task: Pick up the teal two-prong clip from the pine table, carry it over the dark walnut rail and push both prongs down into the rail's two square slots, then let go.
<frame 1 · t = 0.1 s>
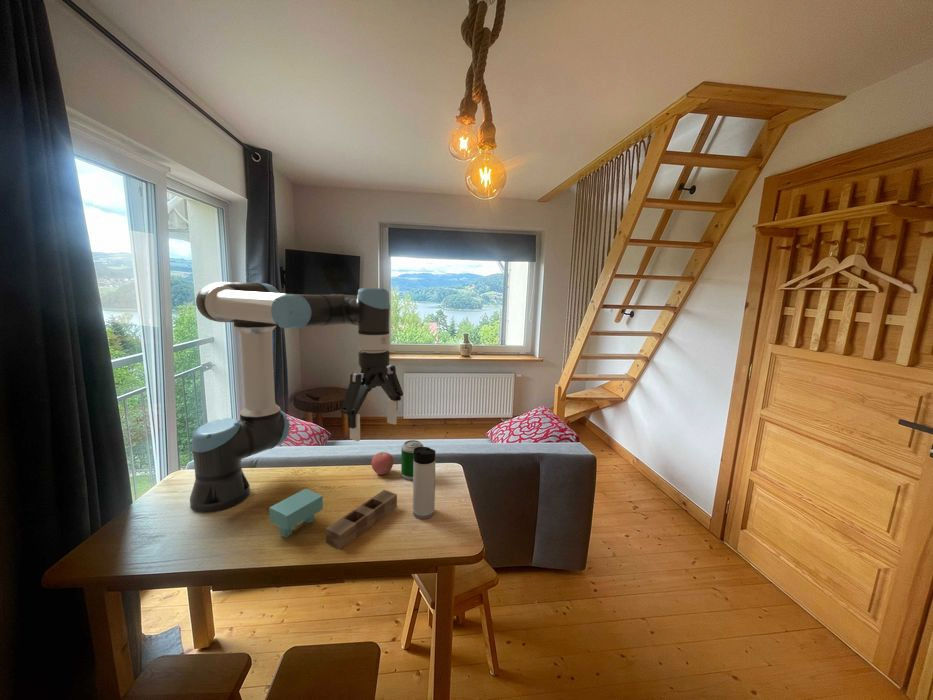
hand: (374, 431, 98), 28 cm above the table, fingers open, 13 cm apart
clip: (297, 526, 102), on the table
soda can: (412, 476, 131), on the table
apple: (382, 473, 132), on the table
travel mug: (423, 513, 110), on the table
rail: (364, 523, 104), on the table
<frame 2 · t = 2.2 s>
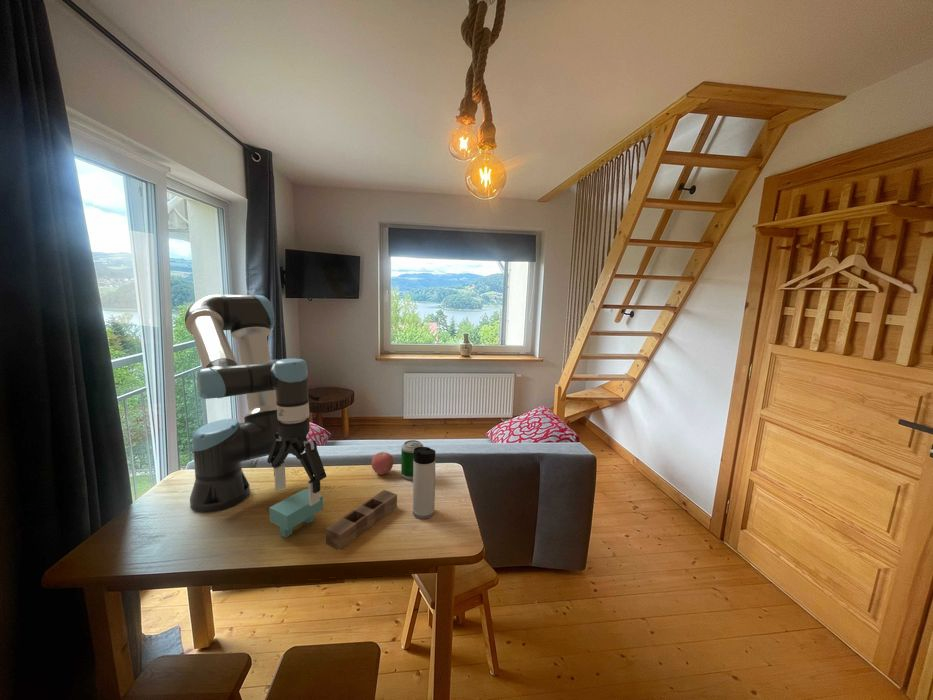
hand: (297, 495, 100), 9 cm above the table, fingers open, 13 cm apart
nothing on the table moved.
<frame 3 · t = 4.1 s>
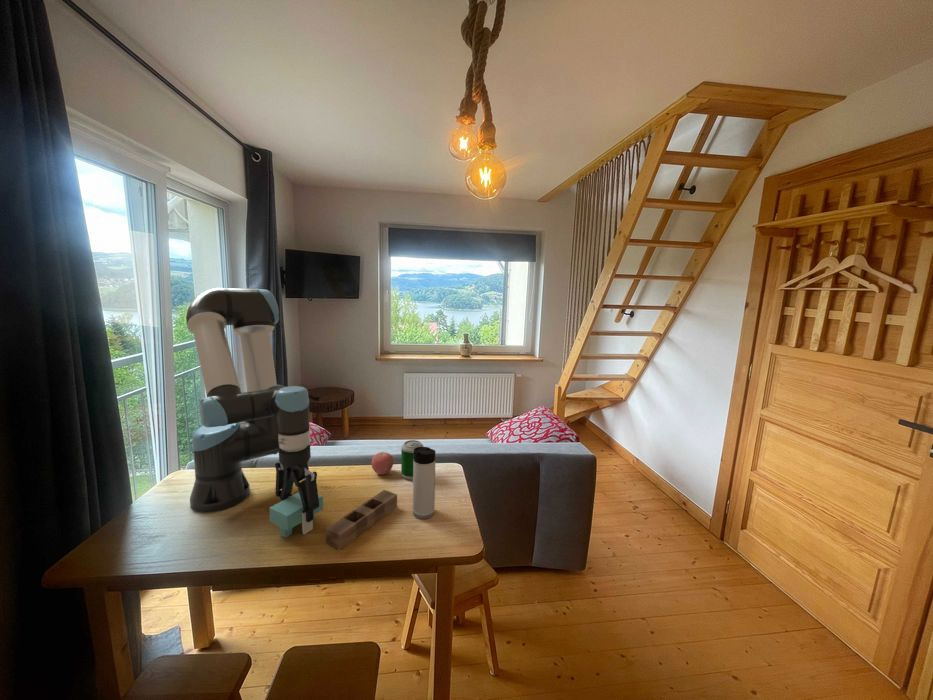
hand: (298, 526, 102), 0 cm above the table, fingers open, 7 cm apart
clip: (297, 527, 102), on the table, touching gripper
everything else where it was.
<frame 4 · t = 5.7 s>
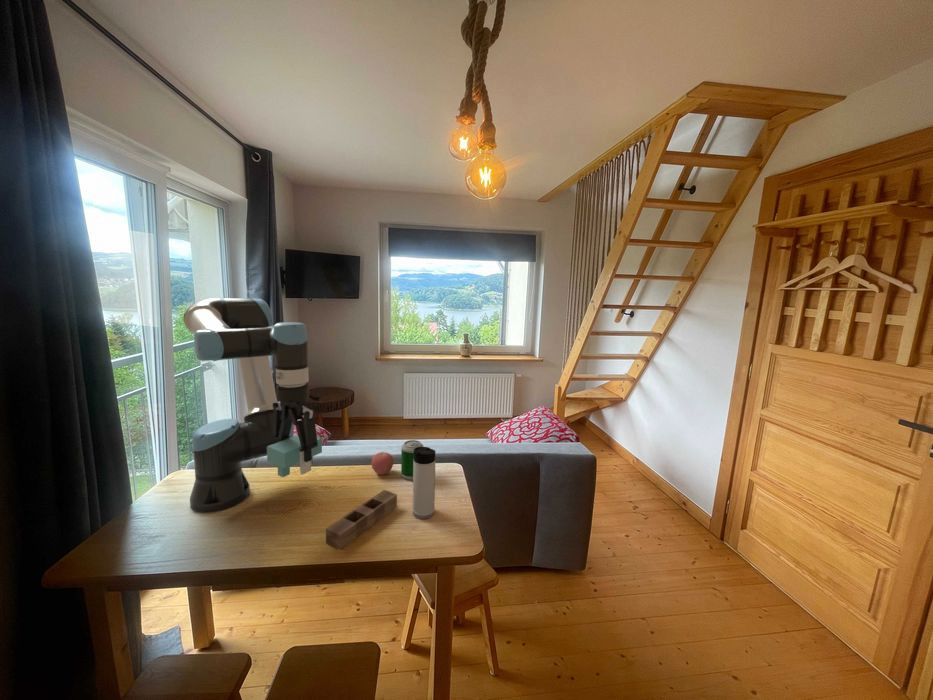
hand: (296, 468, 99), 17 cm above the table, fingers closed on clip, 7 cm apart
clip: (296, 469, 99), point 17 cm above the table, touching gripper
everything else where it was.
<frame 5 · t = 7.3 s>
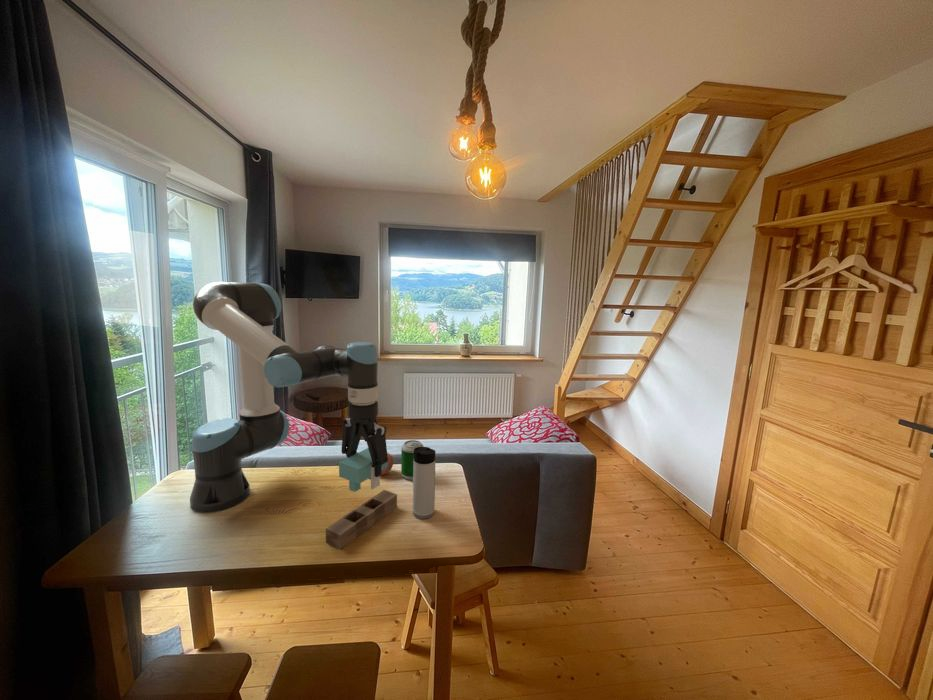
hand: (364, 482, 102), 12 cm above the table, fingers closed on clip, 7 cm apart
clip: (364, 483, 102), point 12 cm above the table, touching gripper
everything else where it was.
when the fingers open (2 cm above the table, at t = 9.7 s): clip drops 1 cm, resting on rail.
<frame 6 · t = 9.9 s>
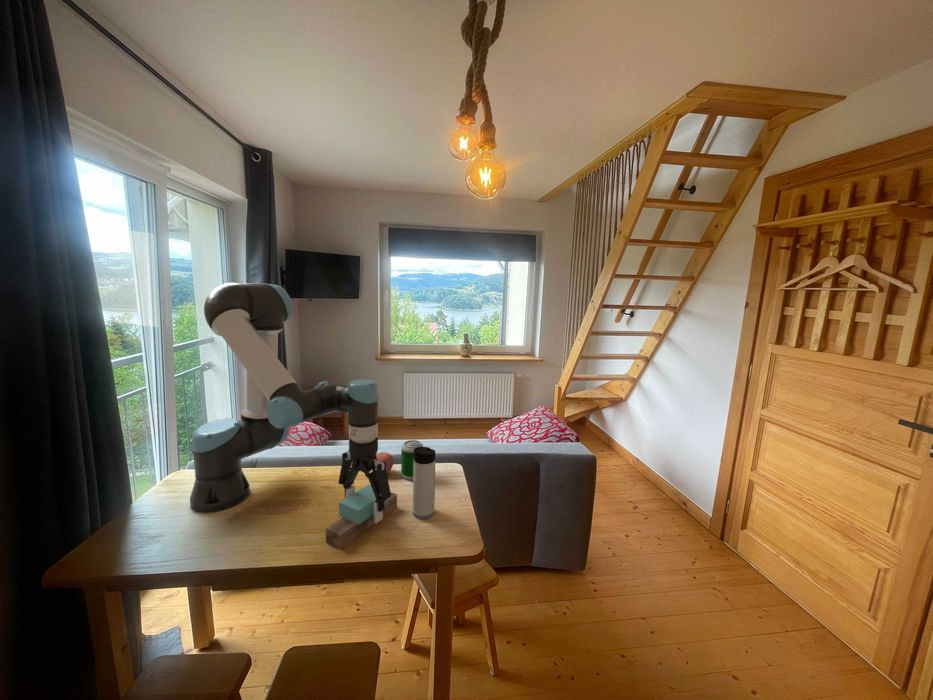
hand: (364, 514, 104), 3 cm above the table, fingers open, 9 cm apart
clip: (364, 521, 104), resting on rail
everything else where it was.
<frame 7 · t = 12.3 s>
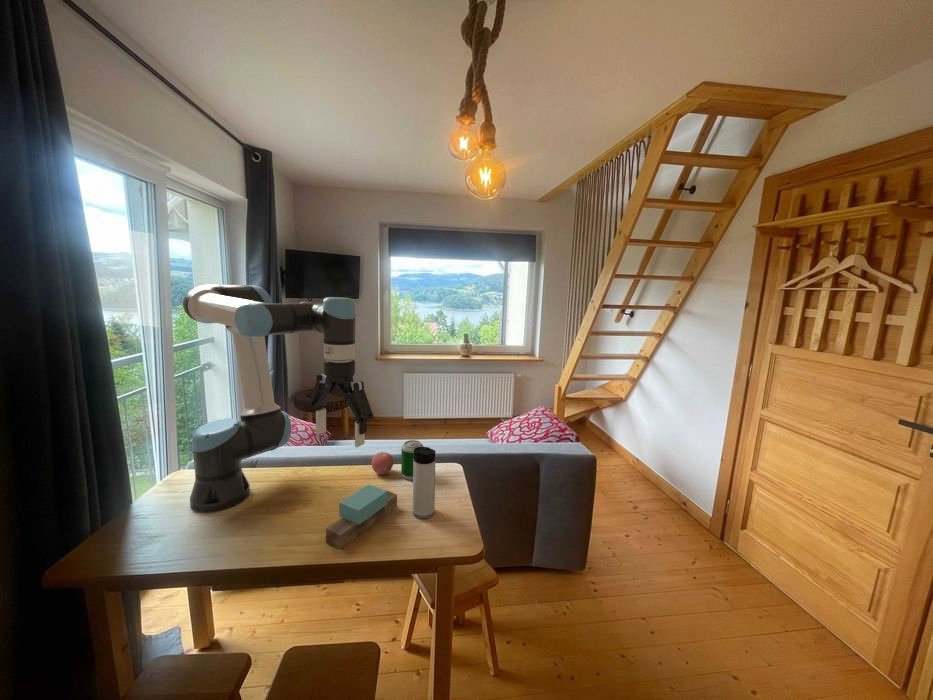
hand: (339, 439, 98), 25 cm above the table, fingers open, 13 cm apart
nothing on the table moved.
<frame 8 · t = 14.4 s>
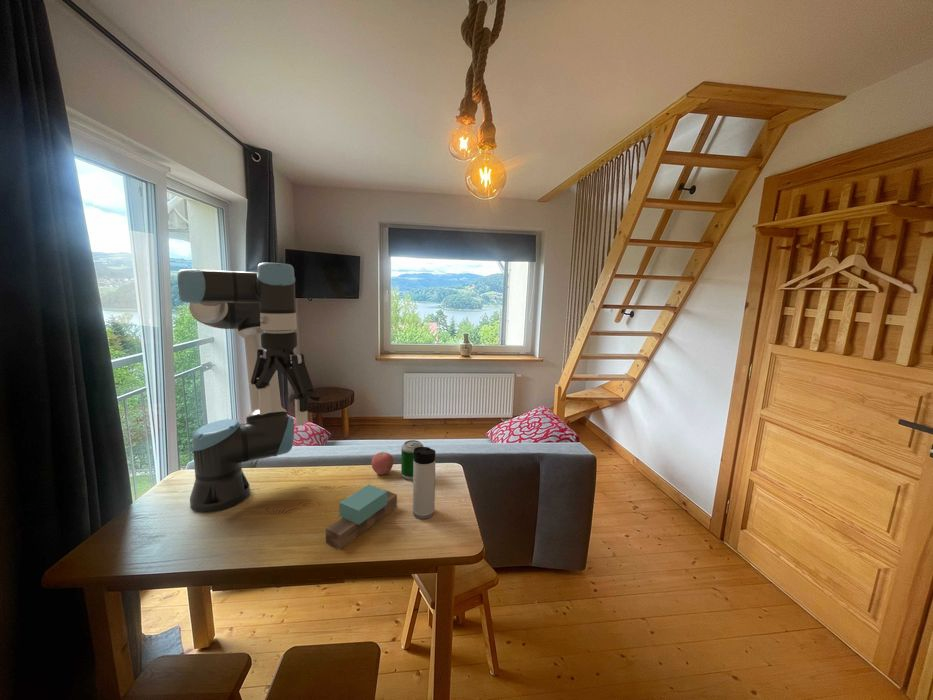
hand: (283, 418, 91), 33 cm above the table, fingers open, 13 cm apart
nothing on the table moved.
at the end: clip 0.1 cm off-centre on the rail, point 0.5 cm above the rail's base; clip tilted 0°; the gripper is holding nothing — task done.
